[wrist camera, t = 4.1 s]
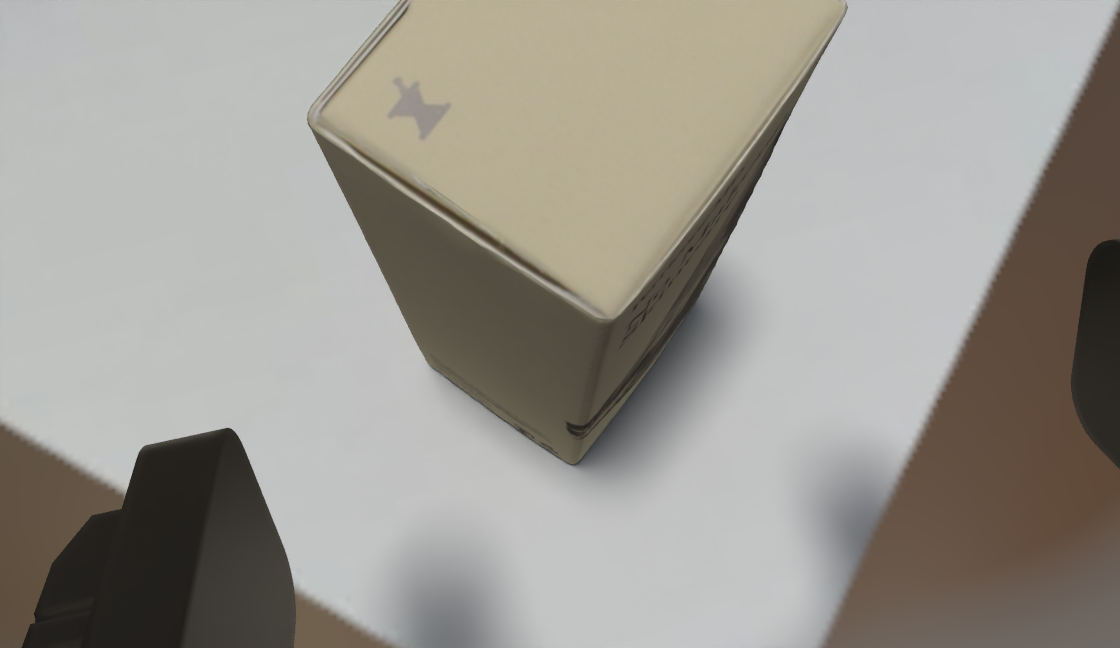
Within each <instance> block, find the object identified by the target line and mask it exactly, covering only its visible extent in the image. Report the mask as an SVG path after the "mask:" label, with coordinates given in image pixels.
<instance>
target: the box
mask: <svg viewBox="0 0 1120 648" xmlns="http://www.w3.org/2000/svg"><path fill="white" fill-rule="evenodd" d="M847 8H848V6H847V3H846V1H845V0H400V1H399V2H398V3H397V4H396V6H395V7H394V8H393V9H392V10H391V12H390V13H389V14H388V15H387V16H386V17H385V19H384V20H383V21H382V22H381V23H380V24H379V26H378V27H377V28H376V29H375V30H374V32H373V33H372V34H371V35H370V36H369V38H368V39H367V40H366V41H365V42H364V43H363V45H362V46H361V47H360V48H359V49H358V51H357V52H356V53H355V54H354V55H353V57H352V58H351V59H350V60H349V61H348V63H347V64H346V65H345V66H344V67H343V69H342V70H341V71H340V72H339V74H338V75H337V76H336V77H335V78H334V80H333V81H332V82H331V83H330V85H329V86H328V87H327V88H326V89H325V90H324V92H323V93H322V94H321V95H320V96H319V97H318V98H317V100H316V101H315V102H314V103H313V104H312V105H311V107H310V110H309V112H308V117H307V121H308V125H309V127H310V128H311V130H312V132H313V134H314V136H315V138H316V140H317V142H318V144H319V146H320V148H321V150H322V152H323V154H324V156H325V158H326V160H327V162H328V164H329V166H330V168H331V170H332V172H333V174H334V176H335V178H336V180H337V182H338V184H339V186H340V188H341V190H342V192H343V194H344V196H345V198H346V200H347V202H348V204H349V206H350V208H351V210H352V212H353V214H354V216H355V218H356V220H357V222H358V224H359V226H360V228H361V230H362V232H363V234H364V237H365V239H366V241H367V243H368V245H369V247H370V249H371V251H372V253H373V255H374V257H375V259H376V261H377V263H378V265H379V267H380V269H381V271H382V273H383V275H384V278H385V279H386V281H387V283H388V285H389V287H390V289H391V291H392V294H393V296H394V298H395V300H396V302H397V305H398V306H399V308H400V310H401V312H402V315H403V317H404V319H405V321H406V323H407V325H408V327H409V329H410V331H411V333H412V335H413V337H414V339H415V341H416V343H417V345H418V346H419V349H420V350H421V352H422V354H423V355H424V357H425V359H426V361H427V363H428V364H429V365H430V366H432V367H433V368H434V369H436V370H437V371H439V372H440V373H442V374H443V375H444V376H445V377H447V378H448V379H449V380H451V381H452V382H453V383H455V384H456V385H457V386H459V387H460V388H461V389H463V390H464V391H465V392H467V393H468V394H469V395H471V396H472V397H473V398H475V399H476V400H477V401H479V402H480V403H482V404H483V405H484V406H486V407H487V408H489V409H490V410H491V411H493V412H494V413H495V414H497V415H498V416H500V417H501V418H502V419H504V420H505V421H507V422H508V423H510V424H511V425H512V426H514V427H515V428H517V429H518V430H519V431H521V432H522V433H524V434H525V435H527V436H528V437H529V438H531V439H532V440H534V441H535V442H536V443H538V444H540V445H541V446H543V447H544V448H546V449H547V450H549V451H550V452H552V453H553V454H555V455H556V456H558V457H559V458H561V459H562V460H564V461H566V462H567V463H570V464H576V463H577V462H578V461H579V460H580V459H581V458H582V457H583V456H584V455H585V453H586V452H587V451H588V449H589V448H590V447H591V446H592V444H593V443H594V442H595V441H596V439H597V438H598V437H599V435H600V434H601V433H602V432H603V430H604V429H605V428H606V426H607V425H608V424H609V423H610V421H611V420H612V419H613V417H614V416H615V415H616V413H617V412H618V411H619V409H620V408H621V407H622V405H623V404H624V403H625V401H626V400H627V399H628V397H629V396H630V395H631V393H632V392H633V391H634V389H635V388H636V387H637V386H638V384H639V383H640V382H641V380H642V379H643V378H644V376H645V375H646V374H647V372H648V371H649V369H650V368H651V367H652V365H653V364H654V362H655V361H656V359H657V358H658V357H659V355H660V354H661V352H662V351H663V349H664V348H665V346H666V345H667V343H668V342H669V340H670V339H671V337H672V336H673V334H674V333H675V332H676V330H677V329H678V327H679V326H680V324H681V323H682V321H683V320H684V318H685V317H686V316H687V314H688V313H689V311H690V310H691V308H692V307H693V305H694V304H695V302H696V301H697V299H698V297H699V295H700V293H701V291H702V290H703V288H704V286H705V284H706V282H707V280H708V278H709V276H710V274H711V272H712V270H713V268H714V267H715V265H716V263H717V260H718V258H719V256H720V255H721V253H722V251H723V248H724V247H725V245H726V243H727V242H728V239H729V237H730V235H731V233H732V232H733V230H734V228H735V227H736V225H737V222H738V219H739V217H740V216H741V214H742V212H743V210H744V209H745V206H746V203H747V202H748V200H749V198H750V196H751V195H752V193H753V190H754V187H755V185H756V184H757V182H758V180H759V179H760V177H761V175H762V172H763V169H764V168H765V166H766V164H767V162H768V160H769V159H770V157H771V154H772V152H773V149H774V147H775V145H776V143H777V141H778V139H779V137H780V135H781V133H782V130H783V128H784V126H785V124H786V122H787V120H788V119H789V117H790V115H791V113H792V110H793V108H794V107H795V105H796V103H797V101H798V99H799V97H800V95H801V94H802V92H803V90H804V88H805V86H806V84H807V82H808V80H809V78H810V77H811V75H812V73H813V71H814V69H815V67H816V65H817V64H818V62H819V60H820V58H821V56H822V55H823V53H824V51H825V49H826V48H827V46H828V44H829V42H830V41H831V39H832V37H833V36H834V34H835V32H836V30H837V29H838V27H839V25H840V23H841V21H842V20H843V18H844V16H845V14H846V11H847Z"/></svg>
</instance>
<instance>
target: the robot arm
mask: <svg viewBox="0 0 1120 648" xmlns="http://www.w3.org/2000/svg"><path fill="white" fill-rule="evenodd" d="M1071 391H1072V398H1073V402H1074V406H1075V409H1076V412H1077V415H1078V418H1079V420H1080V422H1081V424H1082V426H1083V428H1084V430H1085V431H1086V433H1087V434H1088V436H1089V437H1090V439H1091V440H1092V441H1093V442H1094V443H1095V444H1096V445H1097V446H1098V447H1099V449H1100V450H1101V451H1103V453H1105V455H1106V456H1107V457H1108V458H1109V459H1110V460H1111V461H1112V462H1113V463H1114V464H1115V465H1116V466H1117V467H1118V468H1119V469H1120V238H1117V239H1113V240H1108V241H1104V242H1102V243H1100V244H1098V245H1097V246H1096V248H1094V250H1093V252H1092V253H1091V255H1090V257H1089V260H1088V263H1087V268H1086V275H1085V282H1084V289H1083V297H1082V303H1081V310H1080V318H1079V325H1078V332H1077V339H1076V346H1075V354H1074V361H1073V368H1072V375H1071ZM34 615H35V619H36V620H35V623H34V624H30V627H29V629H28V632H27V635H26V638H25V640H24V643H23V646H22V648H294V637H295V624H296V605H295V593H294V586H293V579H292V574H291V570H290V566H289V562H288V558H287V555H286V552H285V549H284V547H283V544H282V542H281V539H280V537H279V534H278V532H277V529H276V527H275V524H274V522H273V519H272V517H271V514H270V512H269V509H268V507H267V504H266V502H265V499H264V497H263V494H262V492H261V489H260V487H259V484H258V482H257V479H256V477H255V474H254V472H253V469H252V467H251V464H250V462H249V459H248V457H247V454H246V452H245V449H244V447H243V445H242V443H241V441H240V439H239V437H238V436H237V434H236V433H235V432H234V431H233V430H232V429H230V428H225V429H220V430H215V431H211V432H206V433H202V434H197V435H192V436H188V437H183V438H178V439H174V440H169V441H164V442H160V443H155V444H150V445H146V446H144V447H143V448H142V449H141V450H140V452H139V454H138V457H137V460H136V463H135V466H134V470H133V473H132V476H131V480H130V483H129V486H128V490H127V493H126V496H125V500H124V504H123V506H122V509H120V510H115V511H110V512H106V513H102V514H97V515H92V516H91V517H90V518H89V520H88V521H87V522H86V523H85V524H84V526H83V527H82V528H81V529H80V531H79V532H78V533H77V534H76V535H75V537H74V538H73V539H72V540H71V541H70V543H69V544H68V545H67V546H66V547H65V549H64V550H63V551H62V552H61V554H60V555H59V556H58V557H57V558H56V560H55V561H54V562H53V563H52V566H51V568H50V571H49V574H48V577H47V579H46V582H45V585H44V588H43V590H42V594H41V596H40V599H39V602H38V604H37V607H36V610H35V613H34Z"/></svg>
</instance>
